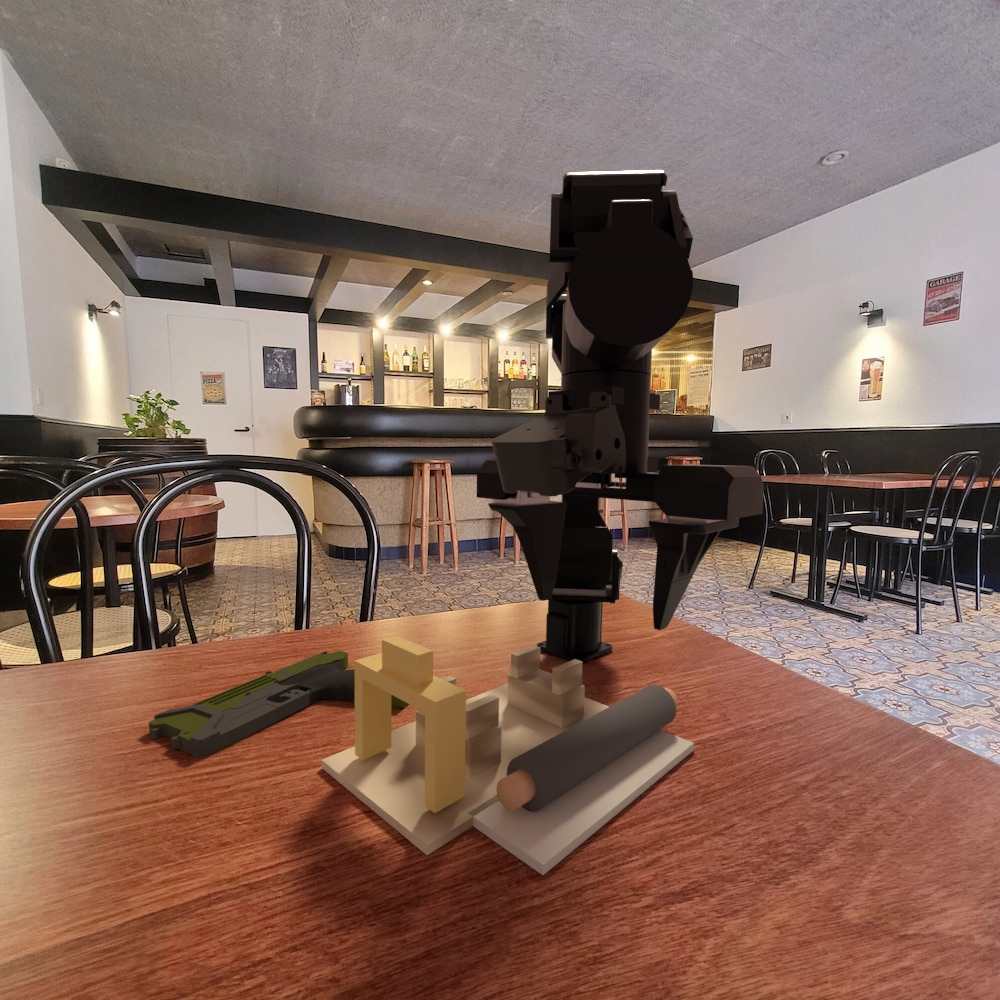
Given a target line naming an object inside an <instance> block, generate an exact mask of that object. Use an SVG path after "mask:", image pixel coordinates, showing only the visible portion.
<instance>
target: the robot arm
mask: <svg viewBox="0 0 1000 1000" xmlns="http://www.w3.org/2000/svg"><path fill="white" fill-rule="evenodd" d="M667 182H668V175H667V174H666V172H665V171H664V170H663V169H654V170H653V169H649V170H648V169H647V170H646V169H645V170H615V171H614V170H613V171H610V170H609V171H607V170H606V171H579V172H578V171H577V172H576V171H573V172H572V171H571V172H566V173H565V174H564V175H563V176H562V189H561V191H562V192H561V193H560V192H558V193H557V192H556V193H551V196H550V199H551V202H550V229H549V230H550V231H549V240H550V241H549V273H553V274H552V275H551V276H550V278H549V279H548V281H547V284H546V306H545V309H546V310H545V339H546V340H547V339H548V340H551V358H552V360H553V362H554V363H555V365H556V367H557V369H558V371H559V372H560V376H561V377H560V382H561V383H560V390H553V391H548V393H547V394H548V396H547V397H546V398H545V405H544V406H545V407H544V408H545V409H544V415H543V417H540V418H537V419H534V420H531V421H529V422H525V423H523V424H522V425H519V426H518V427H516V428H513V429H510V430H509V431H506V432H505V433H503V434H501V435H498V436H496V437H494V438H492V440H491V446H492V450H493V454H494V458H495V459H492V460H490V459H486V460H485V461H484V462H483V463H482V465H481V466H480V468H479V469H478V471H477V472H476V498H478V499H490V500H495V502H490V503H488V507H489V509H490V510H491V511H493V512H496V513H498V514H499V515H501V516H502V517H503V519H505V520H506V521H507V522H508V523H509V524H510V525H511V526H512V528H513V530H514V532H515V534H516V538H517V539H518V541H519V544H520V546H521V549H522V552H523V555H524V558H525V562H526V564H527V567H528V570H529V573H530V577H531V579H532V583H533V586H534V590H535V592H536V596H537V598H538V600H539V601H541V602H542V601H543V602H545V601H547V602H548V603H547V613H546V618H545V619H546V629H545V640H543V641H541V642H538V643H537V644H536V646H537V647H540V651H543V652H546V653H549V654H552V655H554V656H557V657H560V658H564V659H567V660H569V661H571V660H574V659H576V660H579V661H582V663H585V662H587V661H589V660H592V659H594V658H596V657H599V656H601V655H603V654H605V653H608V652H610V651H612V650H613V644H610V643H609V642H608V643H607V642H603V641H602V638H603V637H602V634H603V603H610V604H616V601H617V600H618V601H619V600H620V587H621V585H620V584H621V579H622V574H623V573H622V572H623V568H624V567H623V566H624V563H623V561H622V560H621V559H620V557H619V556H620V555H619V554H618V549H617V548H614V547H613V539H614V538H613V534H612V533H611V531H610V529H609V527H608V525H607V523H606V522H605V520H604V519H603V517H602V515H601V513H600V511H599V510H600V509H599V508H600V507H599V503H600V500H599V499H600V498H601V499H609V500H610V499H612V500H613V499H614V500H623V501H625V500H626V501H637V502H649V503H655V504H656V506H657V507H658V508H659V509H660V510H661V512H662V513H663V514H664V516H667V517H666V518H659V519H652V520H649V521H648V525H649V528H650V530H651V534H652V536H653V539H654V541H655V545H656V557H655V570H654V571H655V572H654V573H655V574H654V582H653V583H654V586H653V597H652V615H653V617H652V618H653V628H654V630H657V631H662V630H665V629H666V628H668V627H669V625H670V623H671V621H672V619H673V617H674V615H675V612H676V610H677V608H678V607H679V604H680V602H681V600H682V598H683V597H684V594H685V593H686V591H687V588H688V587H689V584H690V582H691V580H692V578H693V577H694V575H695V572H696V571H697V568H698V567H699V565H700V563H701V562H702V560H703V558H704V557H705V556H706V554H707V552H709V550H710V548H711V546H712V545H713V543H714V542H715V540H716V539H717V538H718V536H719V534H720V533H721V531H724V530H728V529H735V528H738V527H739V523H740V521H739V520H740V519H741V518H745V517H746V518H748V517H752V516H757V515H758V516H759V515H763V513H764V512H763V511H764V510H763V509H764V495H765V494H764V493H765V491H764V490H765V485H764V482H763V479H762V478H763V477H762V475H761V474H760V473H759V472H758V470H756V468H755V467H754V466H753V465H719V464H717V465H716V464H713V465H712V464H662V466H661V467H660V469H659V471H658V459H659V458H658V457H657V456H656V457H655V456H649V439H650V438H649V433H650V412H651V411H652V412H653V411H660V409H661V407H660V406H661V402H660V401H661V394H658V393H652V392H651V383H652V382H651V381H652V355H653V349H654V348H655V347H656V346H657V345H658V344H659V343H660V342H661V341H662V340H663V339H664V338H665V337H666V336H667V334H668V333H670V331H672V329H674V328H675V326H676V325H677V323H678V322H679V321H680V320H681V318H682V317H683V315H684V314H685V312H686V310H687V308H688V305H689V304H690V301H691V296H692V291H693V288H694V287H693V286H694V273H693V270H692V269H691V266H690V265H691V264H690V263H689V259H690V255H691V250H692V245H693V240H694V237H693V235H692V232H691V230H690V227H689V225H688V221H687V220H686V217H685V215H684V211H682V209H681V207H680V205H679V199H678V193H677V191H676V190H665V188H666V187H667V186H666V185H667ZM663 189H664V190H663ZM565 291H566V293H565ZM564 293H565V294H564ZM612 474H613V475H614V478H615V479H625V481H612V478H613V477H612V476H613V475H612ZM560 495H561V501H556V500H551V497H557V496H560Z"/></svg>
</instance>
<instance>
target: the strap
mask: <svg viewBox="0 0 1000 1000" xmlns="http://www.w3.org/2000/svg"><path fill="white" fill-rule="evenodd" d="M354 669H355V702H354V746H355V755H356V756H357V757H359V758H360V759H362V760H364V759H367V758H369V757H371V756H373V755H376V754H378V753H380V752H383V751H385V750H387V749H389V748H391V731H392V708H391V695H393V696H395V697H397V698H399V699H401V700H402V701H404V702H406V703H408V704H409V705H410V706H412V707H413V708H416V709H417V710H418V709H419V710H421V711H423V712H424V713H425V806H426V807H427V808H428V809H430V810H431V811H432V812H434V813H437V812H438V811H440V810H442V809H443V808H445V807H447V806H449V805H450V804H452V803H454V802H456V801H457V800H459V799H461V798H462V797H464V796H465V736H466V700H467V690H466V689H464V688H462V687H460V686H458V685H457V684H456V685H453V684H451V683H449V682H447V681H445V680H443V679H442V678H440V677H438V676H436V675H434V650H432V649H430V648H428V647H425V646H423V645H420V644H418V643H415V642H413V641H410V640H408V639H406V638H403V637H400V636H399V635H394V636H391V637H387V638H383V639H381V652H380V653H376V654H373V655H368V656H366V657H362V658H360V659H356V660H354Z"/></svg>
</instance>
